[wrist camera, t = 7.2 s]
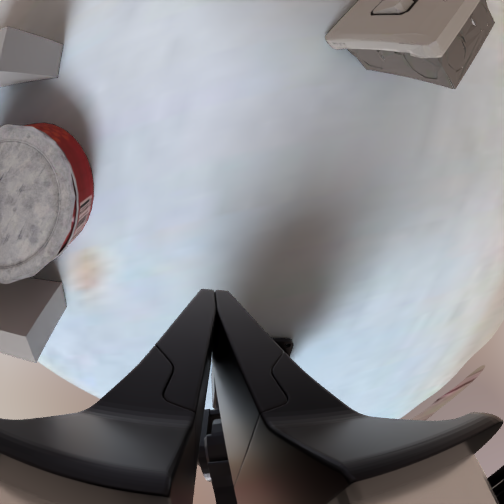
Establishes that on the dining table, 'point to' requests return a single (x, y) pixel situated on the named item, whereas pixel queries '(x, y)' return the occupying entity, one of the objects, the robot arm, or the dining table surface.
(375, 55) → the electrical switch
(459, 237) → the dining table surface
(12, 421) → the robot arm
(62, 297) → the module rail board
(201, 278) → the dining table surface
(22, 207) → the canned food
